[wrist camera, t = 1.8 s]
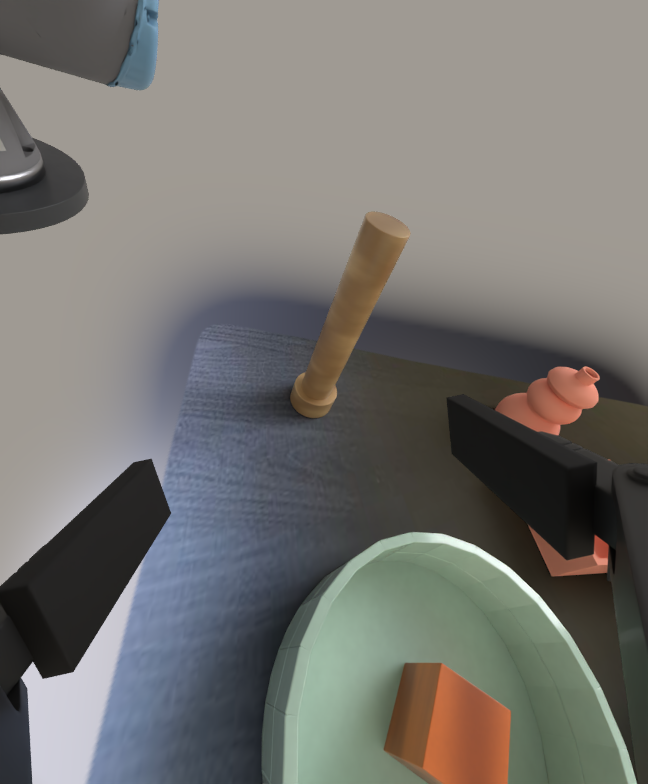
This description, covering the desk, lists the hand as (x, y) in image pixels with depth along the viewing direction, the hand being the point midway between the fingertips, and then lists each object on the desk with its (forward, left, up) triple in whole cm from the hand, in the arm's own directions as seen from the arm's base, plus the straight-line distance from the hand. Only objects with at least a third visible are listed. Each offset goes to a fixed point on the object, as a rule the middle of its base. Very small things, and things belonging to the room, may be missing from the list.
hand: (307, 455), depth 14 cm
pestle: (-3, +12, -11) cm, 17 cm away
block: (+13, -4, -11) cm, 17 cm away
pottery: (+21, +20, -11) cm, 31 cm away
